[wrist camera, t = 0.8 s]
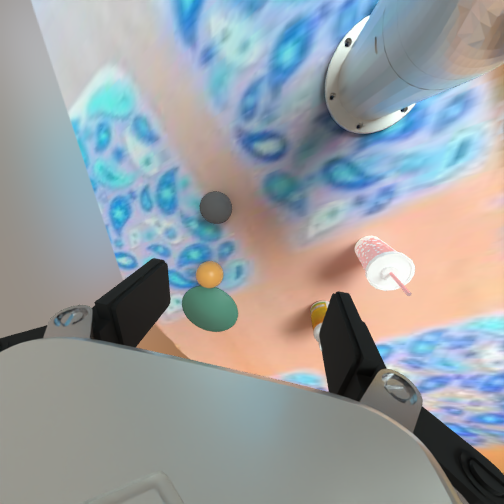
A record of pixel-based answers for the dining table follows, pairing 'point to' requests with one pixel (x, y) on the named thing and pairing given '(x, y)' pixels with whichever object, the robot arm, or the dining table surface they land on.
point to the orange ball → (209, 274)
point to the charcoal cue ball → (216, 207)
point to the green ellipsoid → (210, 308)
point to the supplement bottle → (318, 317)
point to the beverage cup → (384, 264)
